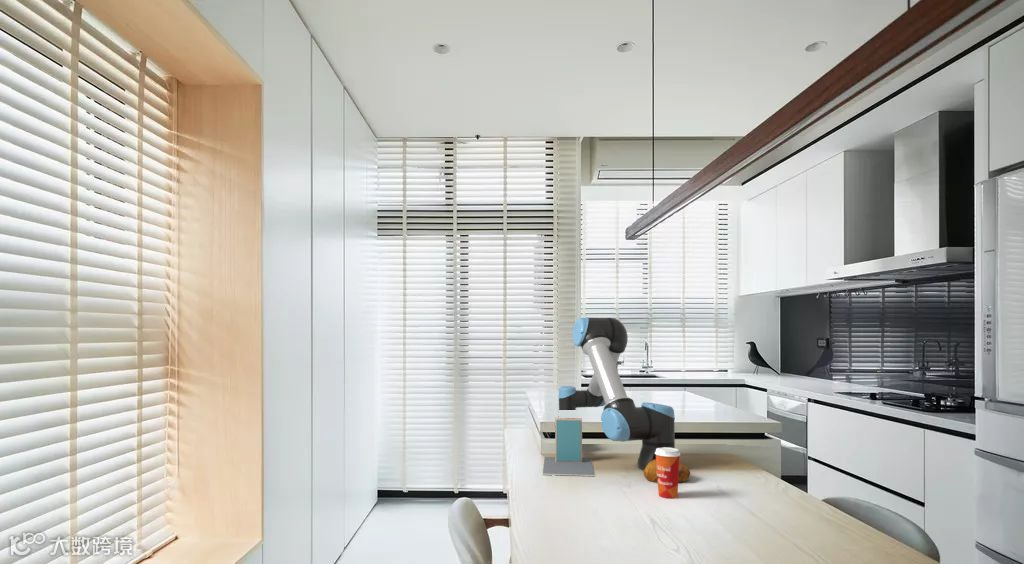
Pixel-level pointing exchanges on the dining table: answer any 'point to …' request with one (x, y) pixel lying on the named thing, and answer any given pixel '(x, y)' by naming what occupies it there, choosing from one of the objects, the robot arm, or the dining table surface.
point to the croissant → (651, 472)
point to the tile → (568, 440)
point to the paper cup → (667, 471)
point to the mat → (568, 467)
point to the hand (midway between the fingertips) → (567, 436)
